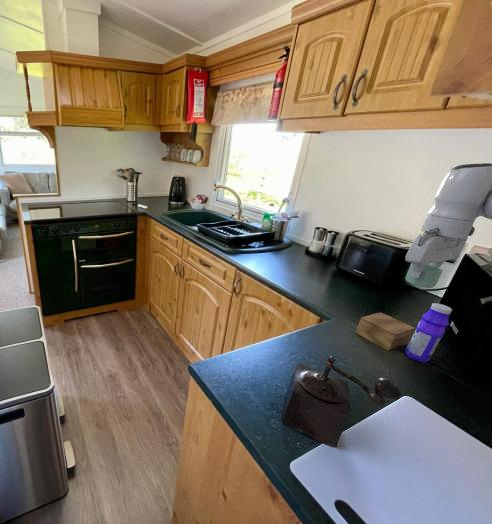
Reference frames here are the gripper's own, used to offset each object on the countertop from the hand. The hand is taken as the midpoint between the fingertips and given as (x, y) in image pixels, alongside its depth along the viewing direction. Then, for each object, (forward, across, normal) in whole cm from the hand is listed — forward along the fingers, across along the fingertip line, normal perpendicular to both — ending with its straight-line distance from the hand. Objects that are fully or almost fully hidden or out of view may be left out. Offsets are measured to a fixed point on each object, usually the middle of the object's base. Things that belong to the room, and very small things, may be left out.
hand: (422, 275), depth 81 cm
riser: (+25, +4, +4) cm, 26 cm away
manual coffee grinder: (+25, -47, -10) cm, 54 cm away
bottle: (+25, +4, -5) cm, 26 cm away
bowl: (+2, 0, 0) cm, 2 cm away
